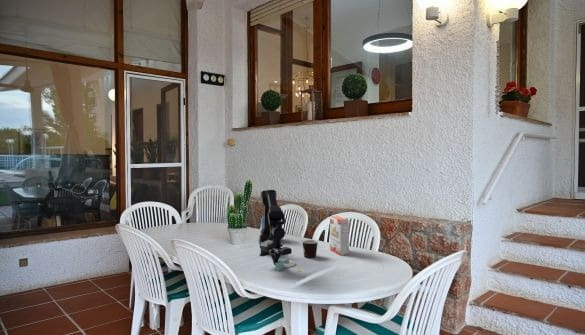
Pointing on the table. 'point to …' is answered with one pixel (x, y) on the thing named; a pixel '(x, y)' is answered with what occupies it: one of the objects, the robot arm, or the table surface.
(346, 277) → the table surface
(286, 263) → the dial
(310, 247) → the coffee mug
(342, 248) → the cracker box
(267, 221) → the robot arm
